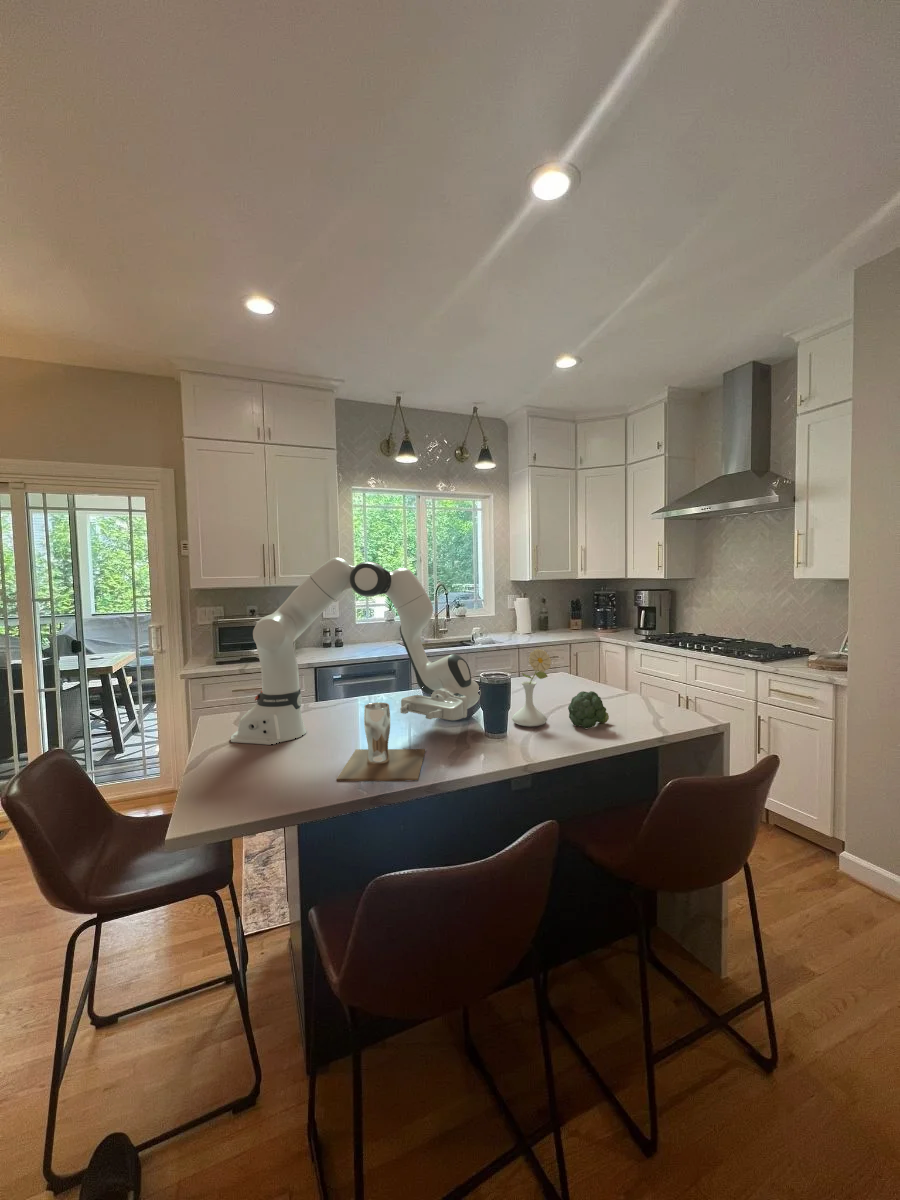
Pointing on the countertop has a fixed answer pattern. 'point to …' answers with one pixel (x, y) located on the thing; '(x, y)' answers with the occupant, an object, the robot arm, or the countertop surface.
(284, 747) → the countertop surface
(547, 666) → the flower in vase
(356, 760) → the tan wooden board
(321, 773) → the countertop surface
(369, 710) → the beer glass
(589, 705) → the vegetable
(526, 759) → the countertop surface
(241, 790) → the countertop surface
